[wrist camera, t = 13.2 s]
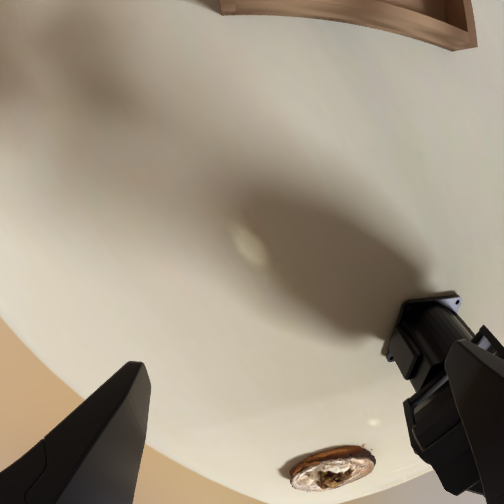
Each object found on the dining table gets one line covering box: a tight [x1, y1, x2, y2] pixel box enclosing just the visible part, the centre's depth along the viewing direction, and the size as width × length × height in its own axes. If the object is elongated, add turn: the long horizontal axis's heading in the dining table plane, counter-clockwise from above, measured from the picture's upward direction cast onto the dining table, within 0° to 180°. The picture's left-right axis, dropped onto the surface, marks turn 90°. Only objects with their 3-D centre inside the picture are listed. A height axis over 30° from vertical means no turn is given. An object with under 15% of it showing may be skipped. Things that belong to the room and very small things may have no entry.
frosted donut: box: [290, 444, 376, 491], centre depth 33 cm, size 15×15×4 cm
